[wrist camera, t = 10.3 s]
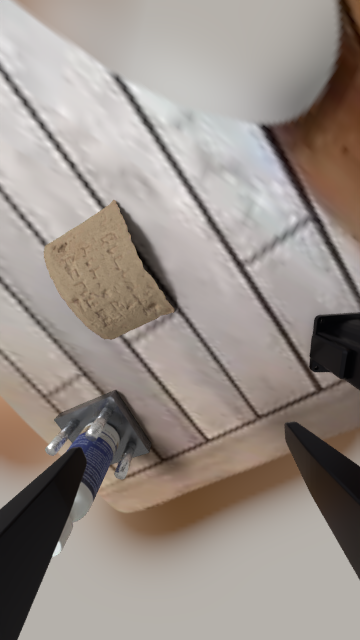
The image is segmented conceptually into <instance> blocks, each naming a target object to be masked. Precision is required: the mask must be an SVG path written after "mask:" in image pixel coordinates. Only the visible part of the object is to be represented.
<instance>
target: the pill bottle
mask: <svg viewBox="0 0 360 640" xmlns="http://www.w3.org/2000/svg"><path fill="white" fill-rule="evenodd" d="M92 424H93V422H92V423H90V424H88V425H87V426H86V427H85V428H84V429H83V430H82V432H81V433H80V434H79V436H78V437H77V438H76V440H75V441H74V442H73V444H72V445H71V446H70V448H69V449H71V448H73V447H81V448H82V450H83V452H84V454H85V456H86V459H87V465H86V469H85V472H84V474H83V477H82V480H81V483H80V486H79V489H78V492H77V495H76V498H75V501H74V504H73V507H72V509H71V512H70V515H69V517H68V520H67V522H66V524H65V527H64V529H63V532H62V534H61V536H60V539H59V541H58V544H57V546H56V548H55V551H54V553H53V556H56V555H58V554H59V553H60V552H61V551H62V549H63V547H64V545H65V543H66V541H67V539H68V537H69V535H70V533H71V531H72V528H73V522H76V521H78V520H80V519H81V518H83V517H84V516H85V515H86V514H87V512H88V511H89V509H90V507H91V505H92V503H93V501H94V499H95V497H96V494H97V492H98V490H99V488H100V486H101V483H102V481H103V479H104V477H105V475H106V472H107V470H108V468H109V466H110V464H111V462H112V459H113V457H114V455H115V453H116V451H117V448H118V446H119V442H120V438H119V435H118V433H117V431H116V430H115V429H114V428H113V427H112V426H110V425H109V424H107V423H106V425H105V426H104V428H103V430H102V431H101V433H100V435H99V436H98V438H97V440H95V441H89V440H88V439H87V438H86V436H85V434H86V432H87V431H88V429H89V428H90V427H91V425H92ZM69 449H68V450H69ZM68 450H67V451H68ZM53 556H52V557H53Z"/></svg>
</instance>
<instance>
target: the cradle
mask: <svg viewBox="0 0 360 640" xmlns="http://www.w3.org/2000/svg"><path fill="white" fill-rule="evenodd" d="M54 421H55V422H56V423H57V424H58V426H59V427H60V428H61V431H60V432H59V433H58V435H57V436H56V437H55V438H54V439H53V440H52V441H51V443H50V444H49V445H48V446H47V447H46V449H45V451H46V453H47V454H49V455H52V456H54V455H55V454H56V453H57V452H58V451H59V450H60V448H61V447H62V446H63V445H64V443H65V442H66V441H67V439H69V440H70V441H71V442H72V444H73V442H74V441H75V440H76V438H77V437H78V436H79V434H80V433H81V432H82V430H83V429H84V428H85V427H86V426H87V425H88V424H90V423H92V422H93V424H92V425H91V427H90V428H89V429H88V431H87V432H86V434H85V436H86V438H87V439H88V440H89V441H95V440H97V438H98V436H99V435H100V433H101V431H102V430H103V428H104V426H105V425H106V423H107V424H109V425H110V426H112V427H113V428H114V429H115V430H116V431H117V433H118V435H119V438H120V442H119V446H118V448H117V451H116V453H115V455H114V457H113V459H112V462H111V464H114V463H117V462H119V463H118V466H117V468H116V471H115V473H114V475H115V477H116V478H118V479H124V478H125V477H126V474H127V471H128V469H129V466H130V463H131V460H132V458H133V457H136V456H140V455H143V454H146V453H149V451H150V448H151V443H150V441H149V440H148V438H147V437H146V435H145V434H144V432H143V431H142V429H141V428H140V426H139V425H138V423H137V422H136V420H135V419H134V417H133V416H132V414H131V413H130V411H129V410H128V408H127V407H126V405H125V404H124V402H123V401H122V399H121V398H120V396H119V395H118V393H117V392H116V390H114V391H112V392H109V393H107V394H105V395H102V396H100V397H98V398H95V399H93V400H90V401H88V402H86V403H83V404H81V405H79V406H76V407H74V408H71V409H69V410H67V411H64V412H62V413H60V414H59V415H58V416H57V417H56V418H55V419H54ZM111 464H110V465H111Z"/></svg>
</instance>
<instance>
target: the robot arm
mask: <svg viewBox="0 0 360 640" xmlns="http://www.w3.org/2000/svg"><path fill="white" fill-rule="evenodd" d="M321 318H322V321H321V322H320V319H321ZM316 366H317V367H316ZM309 367H310V369H311V370H312V371H313V372H331V373H333V374H334V375H336V376H337V377H338V378H340V379H344V380H346V381H347V382H349V383H350V384H351V385H353V386H354V387H356V388H357V389H359V390H360V312H359V313H343V314H328V315H318V316H316V318H315V320H314V329H313V336H312V340H311V350H310V366H309ZM314 367H316V368H314ZM285 439H286V443H287V445H288V447H289V449H290V451H291V454H292V456H293V458H294V460H295V462H296V464H297V466H298V468H299V470H300V472H301V474H302V477H303V479H304V481H305V483H306V485H307V487H308V489H309V491H310V493H311V495H312V497H313V499H314V501H315V502H316V504H317V506H318V508H319V509H320V511H321V513H322V515H323V516H324V518H325V520H326V522H327V523H328V525H329V527H330V529H331V530H332V532H333V534H334V536H335V537H336V539H337V541H338V543H339V544H340V546H341V548H342V550H343V551H344V553H345V555H346V557H347V558H348V560H349V562H350V564H351V565H352V567H353V569H354V570H355V572H356V574H357V576H358V578H359V579H360V467H359V466H358V465H357V464H355V463H354V462H353V461H351V460H350V459H348V458H347V457H346V456H344V455H343V454H341V453H340V452H338V451H337V450H336V449H334V448H333V447H331V446H330V445H328V444H327V443H326V442H324V441H323V440H321V439H320V438H318V437H317V436H316V435H314V434H313V433H311V432H310V431H309V430H307V429H306V428H304V427H303V426H301V425H300V424H299V423H297V422H286V423H285ZM86 465H87V459H86V456H85V454H84V452H83V450H82V448H81V447H73V448H71V449H69V450H68V451H67V452H66V453H65V454H63V455H62V456H61V457H60V458H59V459H58V460H57V461H55V462H54V463H53V464H52V465H51V466H50V467H48V468H47V469H46V470H45V471H44V472H43V473H42V474H40V475H39V476H38V477H37V478H36V479H35V480H33V481H32V482H31V483H30V484H29V485H28V486H27V487H26V488H24V489H23V490H22V491H21V492H20V493H19V494H18V495H16V496H15V497H14V498H13V499H12V500H10V501H9V502H8V503H7V504H6V505H5V506H4V507H2V508H1V509H0V640H17V639H18V637H19V635H20V632H21V630H22V627H23V625H24V623H25V620H26V618H27V615H28V613H29V611H30V608H31V606H32V603H33V601H34V599H35V596H36V594H37V592H38V589H39V587H40V584H41V582H42V579H43V577H44V575H45V572H46V570H47V568H48V565H49V563H50V560H51V558H52V556H53V553H54V551H55V548H56V546H57V544H58V541H59V539H60V536H61V534H62V532H63V529H64V527H65V524H66V522H67V520H68V517H69V515H70V512H71V509H72V507H73V504H74V501H75V498H76V495H77V492H78V489H79V486H80V483H81V480H82V477H83V474H84V472H85V469H86Z"/></svg>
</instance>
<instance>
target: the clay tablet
mask: <svg viewBox="0 0 360 640" xmlns="http://www.w3.org/2000/svg"><path fill="white" fill-rule="evenodd" d="M117 207H118V205H117V204H116V201H114V200H113V201H112V202H111V204H110V205H108V206H107V207H105V208H104V209H102V210H101V211H100V212H98V213H97V214H95V215H94V216H92V217H90V218H89V219H88V220H86V221H85V222H83V223H82V224H80V225H79V226H77V227H75V228H73V229H72V230H70V231H68V232H67V233H66V234H64V235H62V236H61V237H59V238H57V239H56V240H54V241H53V242H51V243H49V244H48V245H45V248H44V259H45V262H46V266H47V269H48V270H49V274H50V277H51V279H52V280H53V281H54V284H55V286H56V288H57V290H58V292H59V294H60V296H61V297H62V298H63V299H64V300H65V301H66V303H67V305H68V307H69V308H70V309H71V310H72V311H73V312H74V313H75V315H76V316H77V317H78V318H79V319H80V320H81V321H82V322H83V323H84V324H85V326H87V327H88V328H89V329H90V330H92V331H93V332H95V333H96V334H97V335H99V336H100V337H101V338H104V339H111V340H112V339H115V338H117V337H118V336H120V335H122V334H125V333H127V332H128V331H130V330H133V329H135V328H137V327H140V326H142V325H144V324H146V323H148V322H150V321H152V320H155V319H157V318H158V317H159V316H161V315H166V314H169V313H172V312H173V313H174V308H173V307H172V305H171V304H170V303H169V302H168V301H167V300H165V296H164V294H163V291H162V290H159V288H158V286H157V284H156V282H155V281H154V279H153V278H152V277H151V275H150V274H148V273H147V271H145V270H144V268H143V264H142V261H141V260H140V259H139V257H138V255H137V251H136V249H135V247H134V245H133V243H132V242H131V235H130V234H129V232H128V230H127V225H126V224H125V220H124V219H123V216H122V214H121V213H120V208H119V207H118V208H117Z"/></svg>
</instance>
